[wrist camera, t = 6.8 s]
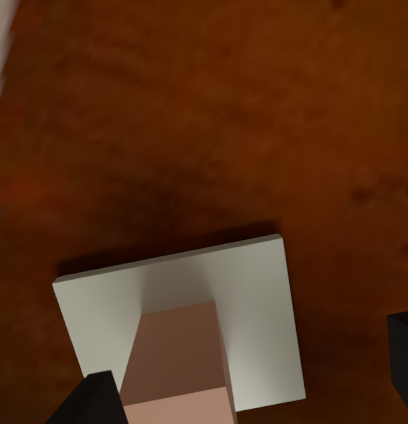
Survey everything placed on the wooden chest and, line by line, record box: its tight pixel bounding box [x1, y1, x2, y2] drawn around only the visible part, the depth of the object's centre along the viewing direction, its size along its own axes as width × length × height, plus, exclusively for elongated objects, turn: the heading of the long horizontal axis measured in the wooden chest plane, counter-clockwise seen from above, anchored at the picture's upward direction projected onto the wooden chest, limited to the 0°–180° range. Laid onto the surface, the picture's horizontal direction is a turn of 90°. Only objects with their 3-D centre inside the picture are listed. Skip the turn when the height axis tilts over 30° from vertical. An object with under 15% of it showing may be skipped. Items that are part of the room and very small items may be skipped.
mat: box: [52, 233, 306, 411], centre depth 18 cm, size 12×10×1 cm
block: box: [119, 301, 237, 424], centre depth 15 cm, size 4×4×6 cm
